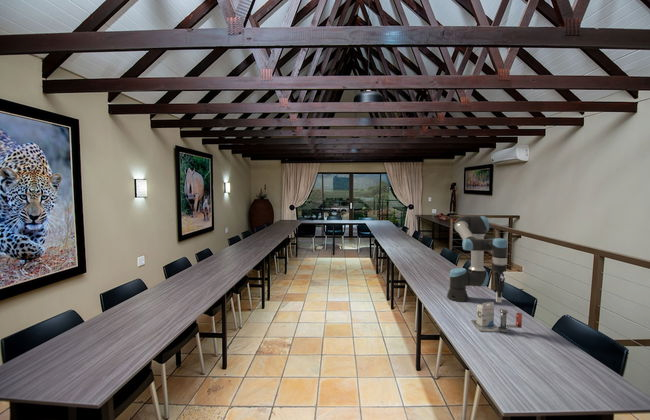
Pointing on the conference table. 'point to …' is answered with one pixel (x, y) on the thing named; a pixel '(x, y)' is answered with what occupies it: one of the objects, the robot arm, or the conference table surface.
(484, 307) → the ink box
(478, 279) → the robot arm
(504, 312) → the press
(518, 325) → the lever
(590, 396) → the conference table surface
